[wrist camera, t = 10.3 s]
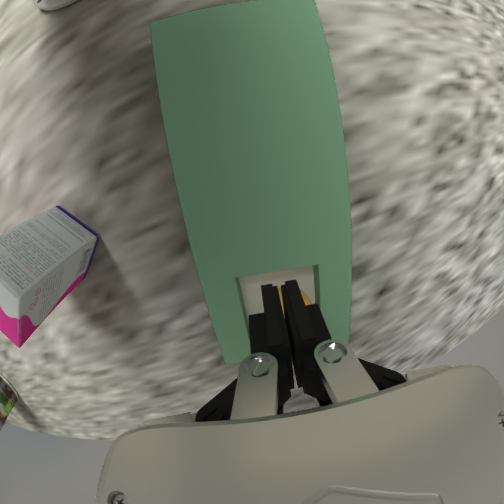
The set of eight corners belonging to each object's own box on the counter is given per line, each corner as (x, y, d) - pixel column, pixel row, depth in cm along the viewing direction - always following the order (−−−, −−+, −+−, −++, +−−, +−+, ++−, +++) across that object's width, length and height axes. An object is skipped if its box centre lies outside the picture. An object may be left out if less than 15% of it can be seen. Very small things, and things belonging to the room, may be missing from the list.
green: (159, 33, 15) (149, 23, 13) (307, 11, 15) (314, -1, 12) (226, 347, 27) (225, 364, 25) (341, 328, 26) (348, 344, 24)
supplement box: (57, 203, 20) (-29, 249, 10) (101, 235, 22) (23, 302, 11) (44, 249, 22) (-26, 306, 12) (84, 280, 24) (22, 352, 13)
